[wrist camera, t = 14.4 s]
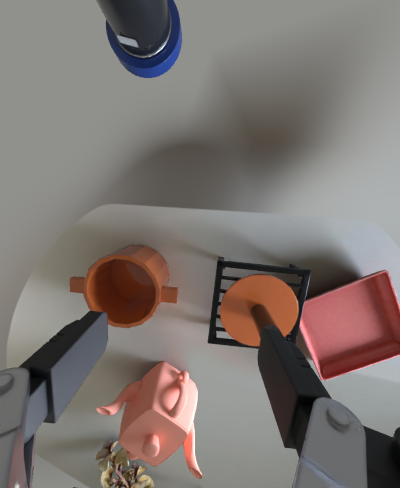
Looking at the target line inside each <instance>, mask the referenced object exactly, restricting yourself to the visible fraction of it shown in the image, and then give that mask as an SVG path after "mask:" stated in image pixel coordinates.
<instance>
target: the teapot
mask: <svg viewBox="0 0 400 488" xmlns="http://www.w3.org/2000/svg"><path fill="white" fill-rule="evenodd" d="M197 398H198V392H197V388H196V385H195V383H194V382H193V381H192V380H191V379H189V374H188V372H187V371H181V372H180V371H179V370H177V369H176V368H174V367H173V366H171V365H169V364H168V363H166V362H159V363H158V364H157V365H156V366H155V367H153V368H152V369H151V370H150V371H149V372H148V373H146V374H145V375H144V377H143V378H142V379H141V380H140V381H136V382H132V383H131V384H129V385H128V386H127V387H126V388H125V389H124V390H123V391H122V392H121V394H120V395H119V396H118V398H117V399H116V400H115V401H114V402H113V403H112V404H110V405H108V406H101V407H98V408H97V411H98V412H100V413H101V414H104V415H113V414H115V413H116V412H117V411H118V410H119V409H120V408H121V407H122V405H123V404H124V403H125V402H127V403H126V407H125V410H124V413H123V417H122V422H121V428H120V434H119V444H120V445H121V446H122V447H123V448H125V449H126V455H127V457H128V458H129V459H130V460H136V459H137V458H140V459H141V460H143V461H145V462H146V463H148V464H150V465H152V466H157V465H159V464H161V463H162V462H164V461H165V460H166V459H168V458H169V457H170V456H171V455H172V454H173V453H175V452H176V450H177V449H178V448H179V447H180V446H181V445H182V444H183V446H184V451H185V457H186V462H187V465H188V468H189V470H190V472H191V473H192V474H193V475H194V476H195V477H196V478H198V479H202V474H201V472H200V470H199V468H198V466H197V463H196V458H195V429H194V424H193V419H194V415H195V411H196V405H197Z"/></svg>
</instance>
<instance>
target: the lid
mask: <svg viewBox="0 0 400 488" xmlns="http://www.w3.org/2000/svg"><path fill="white" fill-rule="evenodd" d="M220 317H221V322H222V324H223V326H224V328H225V330H226V331H227V333H228V334H229V335H230V336H231V337H232V338H234V339H235V340H237V341H238V342H240V343H243V344H246V345H250V346H259V345H260V339H261V333H262V329H263V328H273V329H279V330H280V331H281V333H282V334H283V336H284V337H285V336H286V335H287V334H288V333H289V332H290V331H291V330H292V328H293V327H294V325H295V323H296V320H297V317H298V302H297V299H296V296H295V294H294V292H293V291H292V289H291V288H290V287H289V286H288V285H287V284H286V283H285V282H283V281H282V280H280V279H278V278H276V277H274V276H270V275H265V274H255V275H250V276H246V277H243V278H241V279H239V280H238V281H236V282H235V283H234V284H232V285H231V286H230V287H229V288H228V289H227V291H226V292H225V294H224V296H223V298H222V301H221V305H220Z"/></svg>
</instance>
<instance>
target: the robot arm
mask: <svg viewBox="0 0 400 488" xmlns="http://www.w3.org/2000/svg"><path fill="white" fill-rule="evenodd" d="M97 3H98V4H99V6H100V8H101V10H102V12H103V14H104V15H105V17H106V19H107V21H108V23H109V25H110V27H111V29H112V31H113V33H114V35H115V38H116V40H117V42H118V43H119V45H120V47H121V48H122V49H123V50H124V51H125V52H126V53H127V54H128V55H130V56H131V57H133V58H136V59H140V60H147V59H151V58H154V57H156V56H158V55H159V54H160V53H161V52H162V51H163V50H164V49H165V48H166V46H167V44H168V42H169V40H170V37H171V32H172V19H171V14H170V10H169V7H168V1H167V0H97ZM107 341H108V317H107V313H106V312H100V311H89V312H88V313H87V314H86V315H85V316H84V317H83V318H82V319H80V320H76V321H74V322H72V323H70V324H68V325H66V326H65V327H64V328H63V329H61V330H60V331H59V332H58V333H57V335H55V336H53V337H52V338H51V339H50V340H49V342H47V343H46V344H44V345H43V346H42V347H41V348H40V349H39V350H38V351H36V352H35V353H34V354H33V355H32V356H31V357H30V358H28V359H27V360H26V361H25V362H24V363H23V364H22V365H20V366H19V367H18V368H10V369H6V370H3V371H0V488H32V480H33V468H34V454H35V442H36V430H37V429H38V428H39V426H40V425H41V424H42V422H46V423H56V421H57V420H58V418H59V417H60V415H61V414H62V412H63V411H64V409H65V408H66V407H67V405H68V404H69V402H70V401H71V399H72V398H73V396H74V395H75V393H76V392H77V390H78V389H79V387H80V386H81V385H82V383H83V382H84V380H85V379H86V377H87V376H88V374H89V373H90V371H91V370H92V368H93V367H94V365H95V364H96V363H97V361H98V360H99V358H100V357H101V355H102V354H103V352H104V350H105V348H106V345H107ZM258 366H259V370H260V373H261V376H262V379H263V382H264V385H265V388H266V391H267V394H268V397H269V400H270V404H271V407H272V410H273V413H274V416H275V419H276V422H277V425H278V428H279V431H280V434H281V437H282V441H283V444H284V447H285V448H293V449H296V450H297V453H298V456H299V461H298V465H297V469H296V473H295V478H294V482H293V486H292V488H400V427H399V428H397V429H396V431H395V433H394V436H393V437H390V436H388V435H385V434H383V433H380V432H378V431H375V430H372V429H370V428H367V427H365V426H363V425H362V424H361V422H360V421H359V419H358V418H357V417H356V416H355V415H354V414H353V413H352V412H351V411H350V410H349V409H348V408H347V407H345V406H344V405H342V404H341V403H339V402H337V401H335V400H333V399H332V398H331V397H330V395H329V394H328V392H327V391H326V389H325V387H324V386H323V384H322V383H321V381H320V380H319V378H318V377H317V375H316V374H315V372H314V370H313V369H312V368H311V366H310V364H309V363H308V361H307V360H306V358H305V356H304V355H303V353H302V352H301V350H300V349H299V348H298V347H297V346H296V345H295V344H293V343H292V342H291V341H286V339H285V338H284V336H283V334H282V333H281V331H280V330H279V329H273V328H263V329H262V333H261V339H260V345H259V350H258Z"/></svg>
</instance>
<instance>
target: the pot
mask: <svg viewBox="0 0 400 488" xmlns="http://www.w3.org/2000/svg"><path fill="white" fill-rule="evenodd" d="M169 279H170V273H169V268H168V265H167V263H166V261H165V259H164V258H163V257H162V256H161V255H160V254H159V253H158V252H157V251H156V250H154V249H152V248H150V247H147V246H143V245H131V246H127V247H125V248H122V249H119V250H117V251H115V252H113V253H111V254H109V255H107V256H105V257H103V258H101V259H99V260H98V261H97V262H96V263H95V264H94V265H92V266H91V267H90V268H89V270H88V272H87V274H86V277H75V276H73V277H71V278H70V292H77V293H84V298H85V300H86V302H87V305H88V307H89V309H90V310H91V311H100V312H106V313H107V317H108V324H109V325H111V326H114V327H122V328H130V327H134V326H138V325H141V324H143V323H144V322H146V321H147V320H148V319H150V318H151V317H152V316H153V315H154V313H155V311H156V309H157V308H158V306H159V304H160V302H168V303H177V301H178V290H179V288H178V287H169V286H168V285H169Z"/></svg>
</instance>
